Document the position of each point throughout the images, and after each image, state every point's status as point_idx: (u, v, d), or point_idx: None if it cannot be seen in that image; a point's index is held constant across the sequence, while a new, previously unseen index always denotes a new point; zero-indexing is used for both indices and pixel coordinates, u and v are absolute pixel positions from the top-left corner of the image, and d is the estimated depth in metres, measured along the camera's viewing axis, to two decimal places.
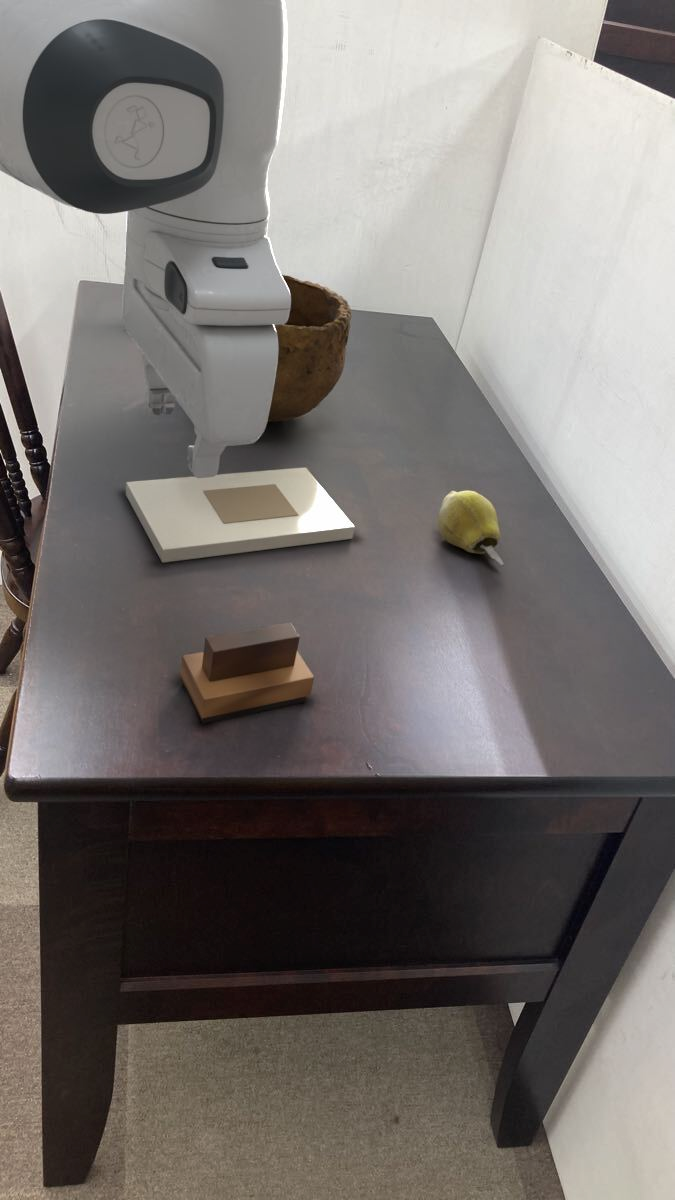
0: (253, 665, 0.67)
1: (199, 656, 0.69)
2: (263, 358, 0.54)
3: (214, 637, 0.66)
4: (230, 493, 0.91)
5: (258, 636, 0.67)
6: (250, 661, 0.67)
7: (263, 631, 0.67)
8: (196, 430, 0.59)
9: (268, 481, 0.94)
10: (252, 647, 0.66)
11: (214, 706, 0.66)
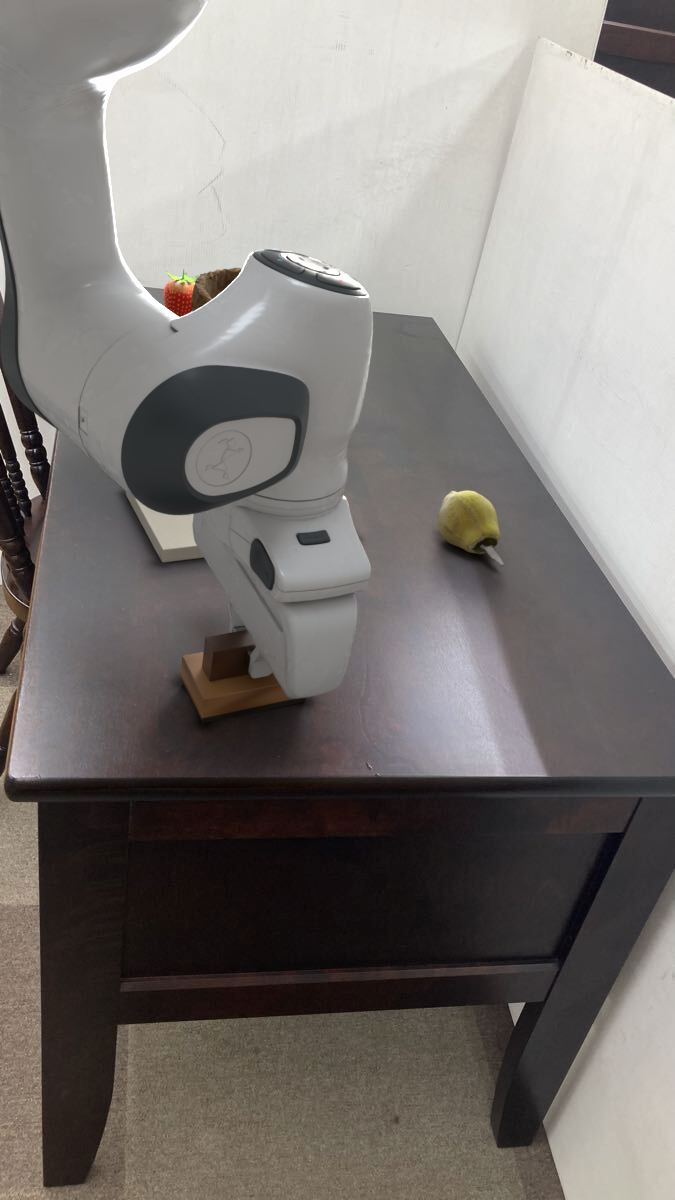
0: None
1: (199, 656, 0.69)
2: (343, 625, 0.56)
3: (214, 637, 0.66)
4: None
5: None
6: None
7: None
8: (255, 642, 0.64)
9: None
10: (252, 647, 0.66)
11: (214, 706, 0.66)
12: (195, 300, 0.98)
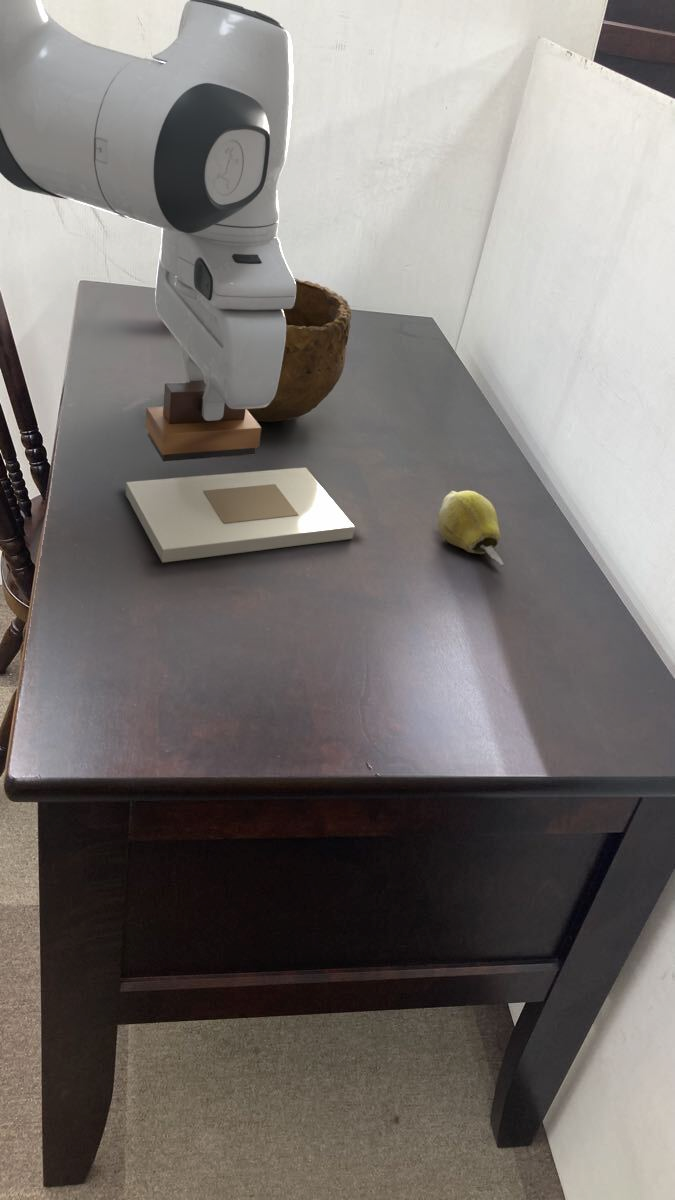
0: None
1: (161, 408, 0.79)
2: (273, 336, 0.66)
3: (172, 384, 0.76)
4: (230, 493, 0.91)
5: None
6: None
7: None
8: (205, 380, 0.74)
9: (268, 481, 0.94)
10: None
11: (173, 443, 0.76)
12: None
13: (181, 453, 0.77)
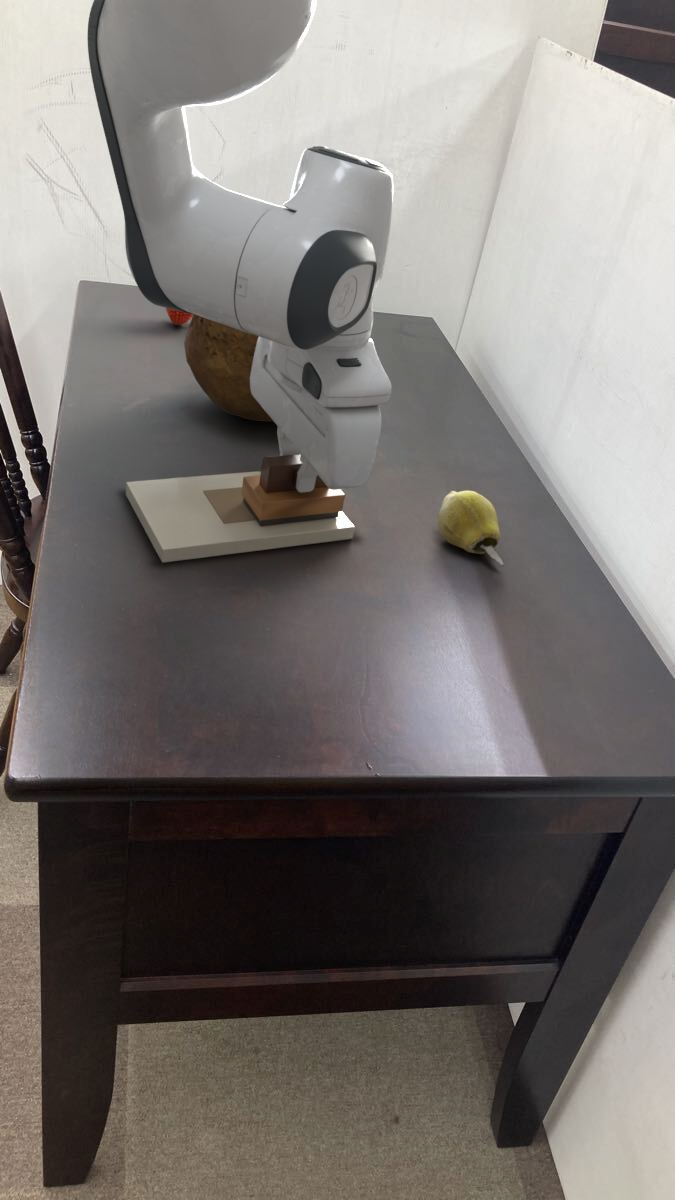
0: None
1: (256, 477, 0.88)
2: (371, 429, 0.76)
3: (269, 458, 0.86)
4: (230, 493, 0.91)
5: None
6: None
7: None
8: (301, 459, 0.84)
9: None
10: (298, 466, 0.86)
11: (270, 510, 0.86)
12: None
13: (276, 518, 0.87)
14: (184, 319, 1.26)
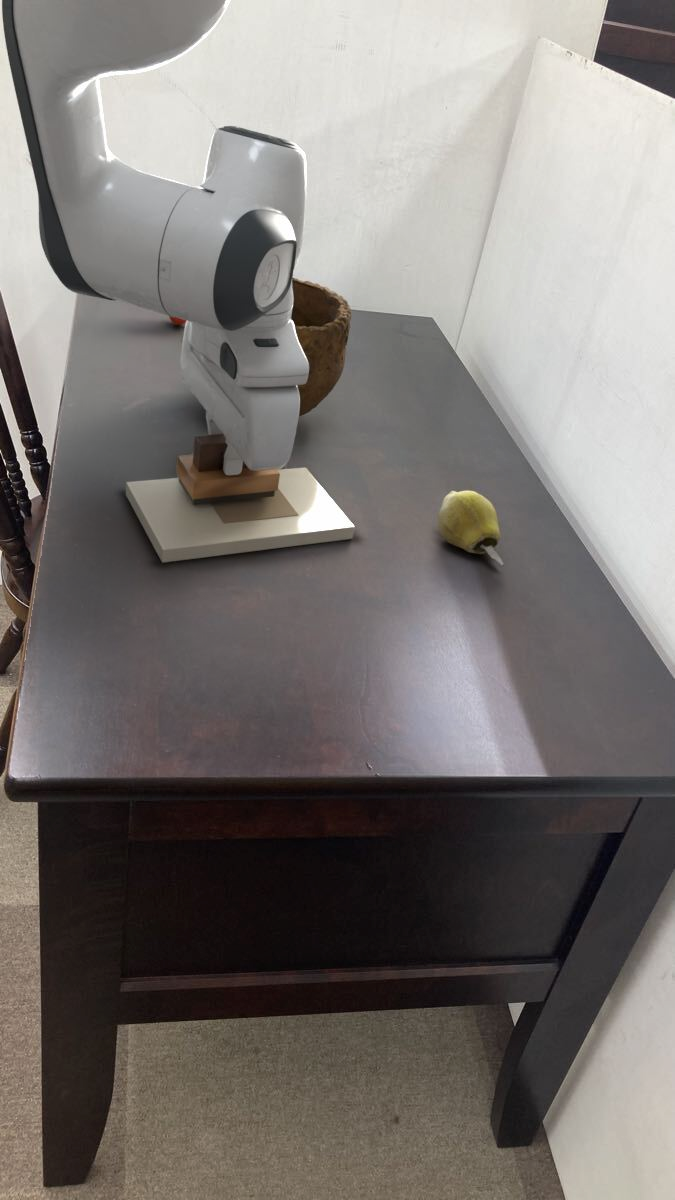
0: None
1: (190, 457, 0.88)
2: (289, 409, 0.76)
3: (201, 436, 0.86)
4: None
5: None
6: None
7: None
8: (227, 441, 0.84)
9: None
10: None
11: (202, 489, 0.86)
12: None
13: (209, 497, 0.87)
14: None
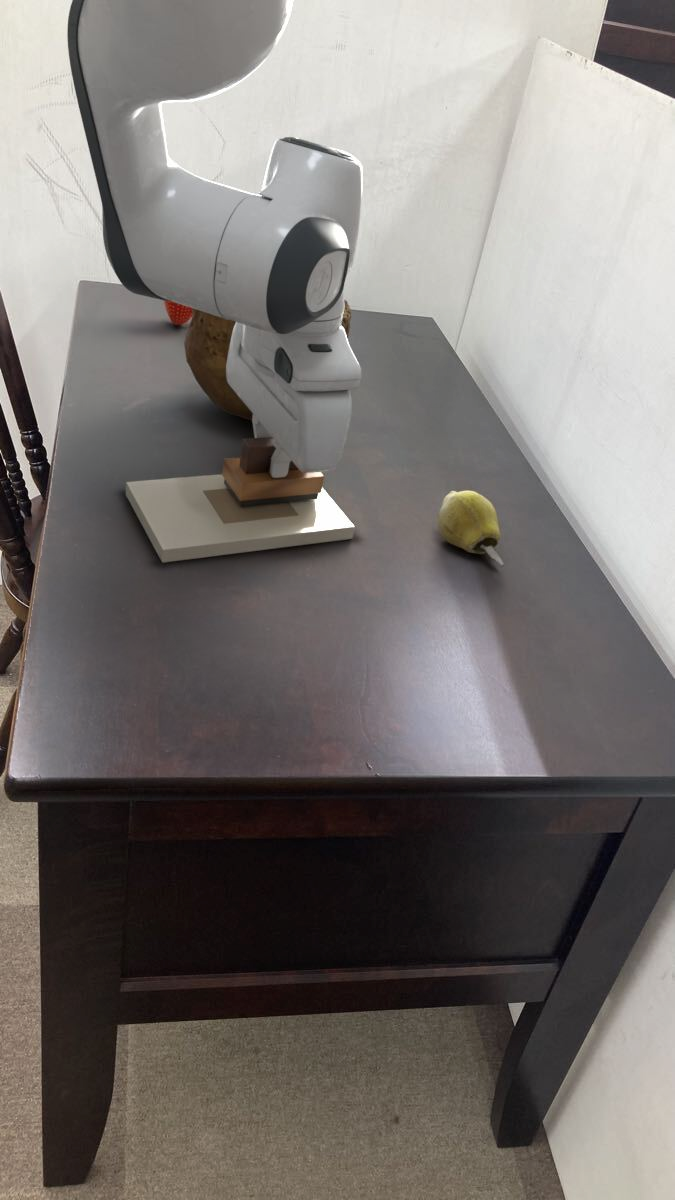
0: None
1: (236, 459, 0.90)
2: (341, 413, 0.78)
3: (249, 439, 0.88)
4: (230, 493, 0.91)
5: None
6: None
7: None
8: (275, 444, 0.86)
9: None
10: None
11: (249, 491, 0.87)
12: None
13: (256, 499, 0.89)
14: (184, 319, 1.26)
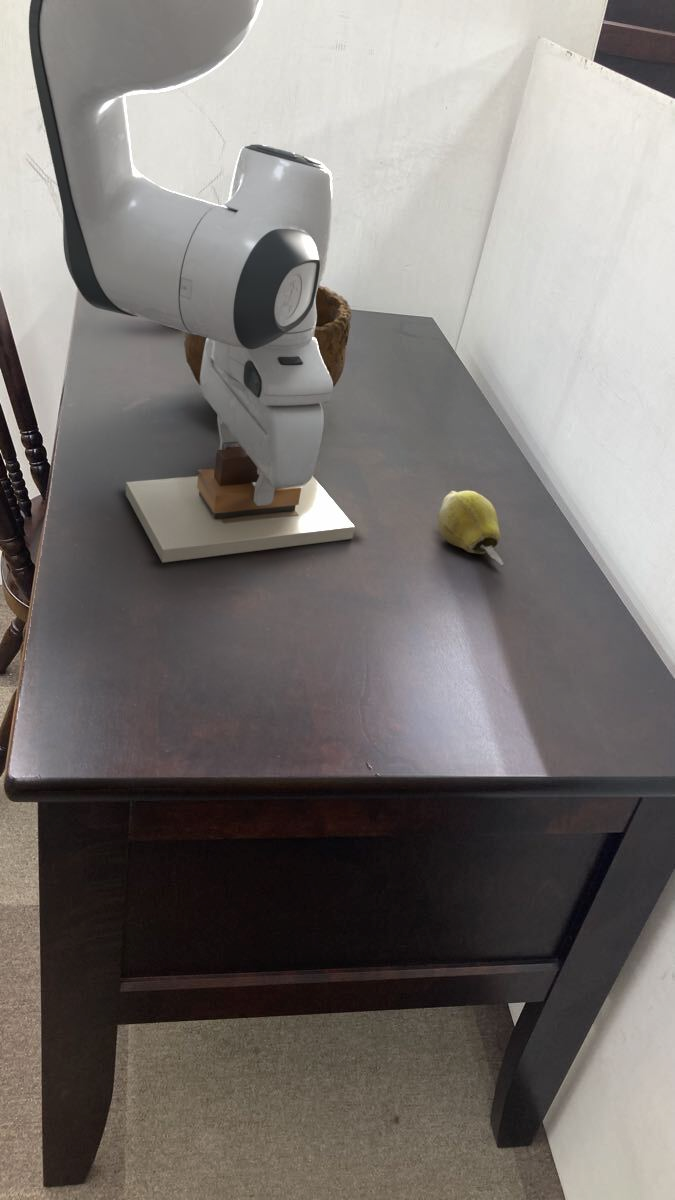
0: (254, 475, 0.87)
1: (211, 470, 0.88)
2: (313, 427, 0.76)
3: (223, 450, 0.85)
4: None
5: None
6: (251, 471, 0.86)
7: None
8: (258, 472, 0.82)
9: None
10: None
11: (223, 503, 0.85)
12: None
13: (230, 511, 0.86)
14: None
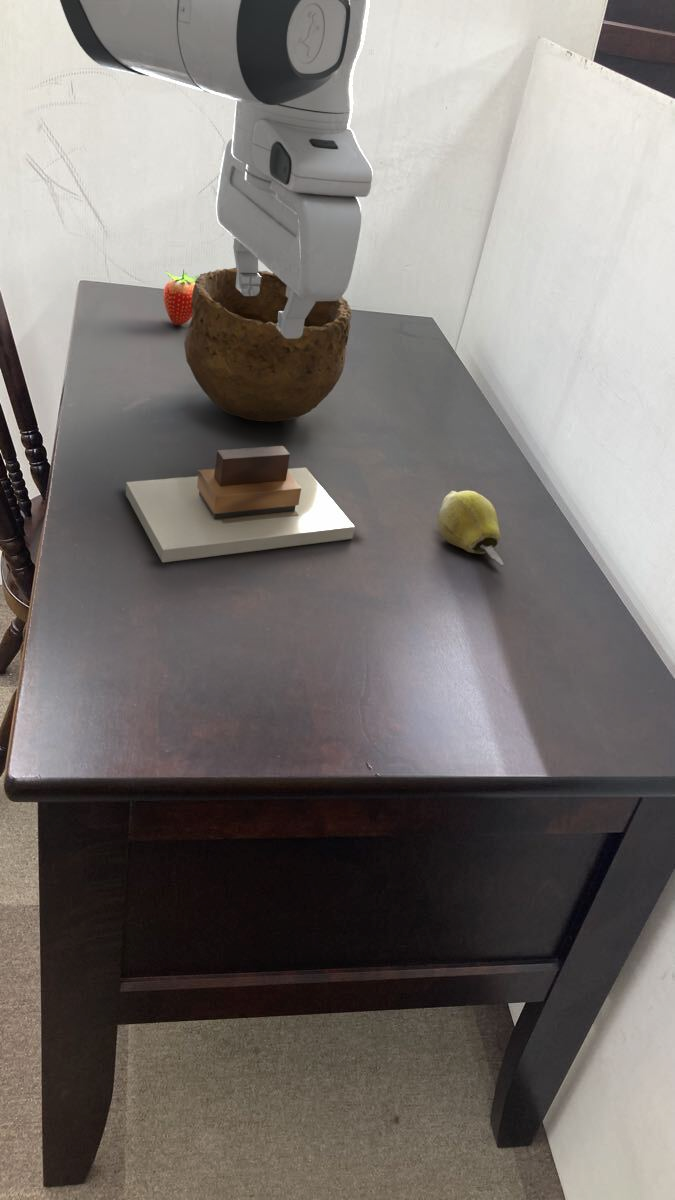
0: (254, 476, 0.87)
1: (211, 470, 0.88)
2: (349, 224, 0.66)
3: (223, 451, 0.85)
4: None
5: (257, 452, 0.86)
6: (251, 472, 0.86)
7: (261, 449, 0.87)
8: (287, 293, 0.71)
9: None
10: (253, 459, 0.86)
11: (223, 503, 0.85)
12: (195, 300, 0.98)
13: (230, 512, 0.86)
14: (184, 319, 1.26)
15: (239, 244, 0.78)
